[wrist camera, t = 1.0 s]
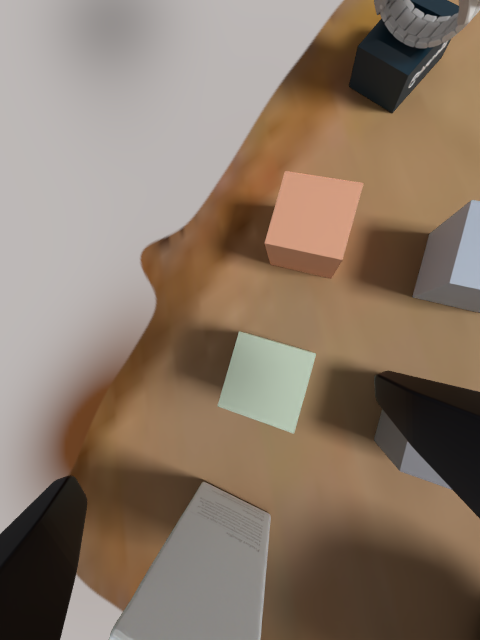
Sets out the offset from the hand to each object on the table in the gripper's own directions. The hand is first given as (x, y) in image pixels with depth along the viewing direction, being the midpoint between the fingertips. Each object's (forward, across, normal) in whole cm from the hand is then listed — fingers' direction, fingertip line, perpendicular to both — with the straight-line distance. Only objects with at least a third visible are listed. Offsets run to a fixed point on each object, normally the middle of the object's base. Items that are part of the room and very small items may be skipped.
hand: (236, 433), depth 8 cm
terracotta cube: (+15, -10, -3) cm, 18 cm away
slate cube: (+10, -18, +2) cm, 21 cm away
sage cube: (+12, -4, +6) cm, 14 cm away
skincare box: (+9, +2, +16) cm, 19 cm away
